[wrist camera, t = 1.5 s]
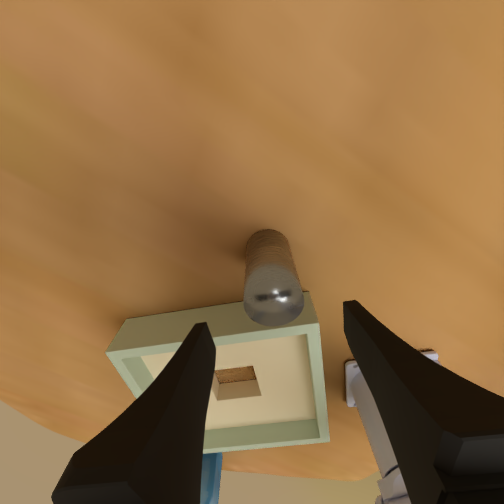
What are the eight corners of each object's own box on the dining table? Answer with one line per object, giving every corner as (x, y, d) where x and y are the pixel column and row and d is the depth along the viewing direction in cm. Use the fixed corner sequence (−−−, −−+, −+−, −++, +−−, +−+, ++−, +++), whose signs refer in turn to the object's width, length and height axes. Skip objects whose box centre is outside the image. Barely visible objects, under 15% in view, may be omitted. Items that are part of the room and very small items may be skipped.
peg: (286, 225, 20) (301, 273, 14) (291, 264, 22) (307, 322, 15) (242, 233, 20) (237, 284, 14) (250, 270, 22) (249, 330, 16)
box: (308, 291, 23) (318, 322, 19) (321, 405, 31) (330, 441, 28) (126, 319, 25) (104, 352, 21) (184, 420, 33) (175, 456, 29)
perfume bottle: (218, 434, 35) (203, 573, 24) (222, 456, 38) (210, 589, 27) (174, 435, 35) (140, 573, 24) (181, 456, 38) (153, 589, 27)
